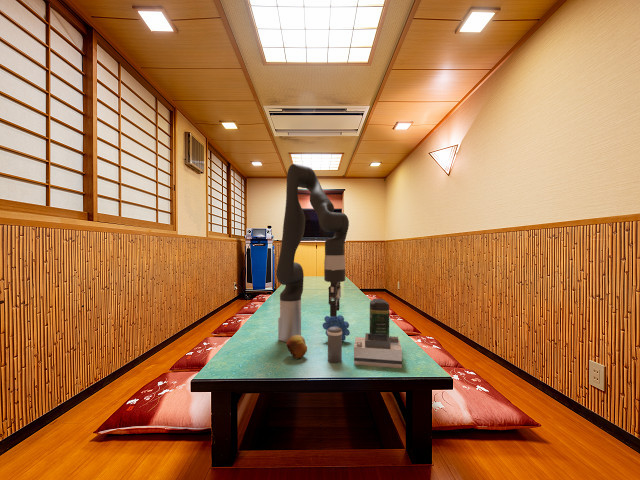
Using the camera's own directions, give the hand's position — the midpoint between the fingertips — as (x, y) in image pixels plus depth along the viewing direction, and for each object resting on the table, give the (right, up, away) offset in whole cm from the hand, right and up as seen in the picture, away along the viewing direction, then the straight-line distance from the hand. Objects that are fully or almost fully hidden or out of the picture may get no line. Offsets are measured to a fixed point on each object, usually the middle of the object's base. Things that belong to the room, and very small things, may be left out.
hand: (335, 313), depth 104 cm
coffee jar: (+19, -17, +16) cm, 30 cm away
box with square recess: (+15, -17, 0) cm, 23 cm away
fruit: (-14, -17, +2) cm, 22 cm away
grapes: (+1, -17, +19) cm, 26 cm away
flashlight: (0, -17, 0) cm, 17 cm away
